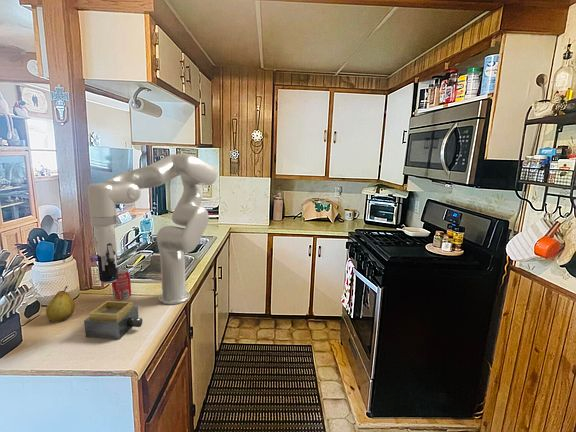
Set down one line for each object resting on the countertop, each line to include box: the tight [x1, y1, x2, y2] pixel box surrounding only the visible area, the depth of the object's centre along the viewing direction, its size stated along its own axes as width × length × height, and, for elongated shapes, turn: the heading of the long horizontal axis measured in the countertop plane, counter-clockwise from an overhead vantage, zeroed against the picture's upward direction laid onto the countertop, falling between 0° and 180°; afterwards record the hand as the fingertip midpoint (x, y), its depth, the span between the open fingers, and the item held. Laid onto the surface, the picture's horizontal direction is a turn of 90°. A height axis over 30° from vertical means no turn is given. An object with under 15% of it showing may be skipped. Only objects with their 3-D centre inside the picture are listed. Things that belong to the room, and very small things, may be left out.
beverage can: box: [96, 251, 119, 284], centre depth 110 cm, size 6×6×12 cm
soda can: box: [111, 268, 132, 301], centre depth 137 cm, size 7×7×12 cm
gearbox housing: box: [83, 300, 143, 340], centre depth 113 cm, size 12×16×8 cm
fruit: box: [45, 285, 76, 323], centre depth 119 cm, size 9×9×12 cm
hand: (108, 272), depth 110 cm, fingers closed on beverage can, 5 cm apart
